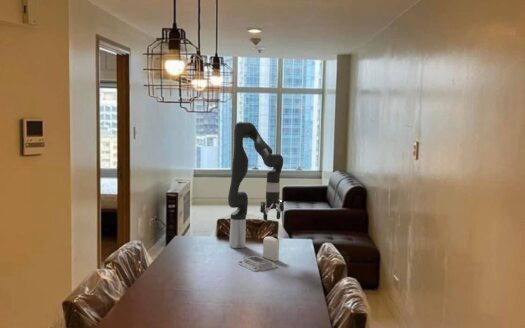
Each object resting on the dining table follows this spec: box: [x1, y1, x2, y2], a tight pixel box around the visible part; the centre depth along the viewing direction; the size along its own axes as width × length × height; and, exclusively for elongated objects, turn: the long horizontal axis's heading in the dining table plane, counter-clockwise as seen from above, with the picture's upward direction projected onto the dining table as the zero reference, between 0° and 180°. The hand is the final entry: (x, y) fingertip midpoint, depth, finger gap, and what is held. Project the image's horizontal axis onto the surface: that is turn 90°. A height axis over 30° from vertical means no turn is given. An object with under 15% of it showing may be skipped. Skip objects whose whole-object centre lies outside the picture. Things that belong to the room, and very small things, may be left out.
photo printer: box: [262, 236, 280, 262], centre depth 275 cm, size 10×4×12 cm, turn 39°
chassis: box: [237, 255, 279, 272], centre depth 261 cm, size 16×15×3 cm
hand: (271, 219), depth 273 cm, fingers open, 8 cm apart
